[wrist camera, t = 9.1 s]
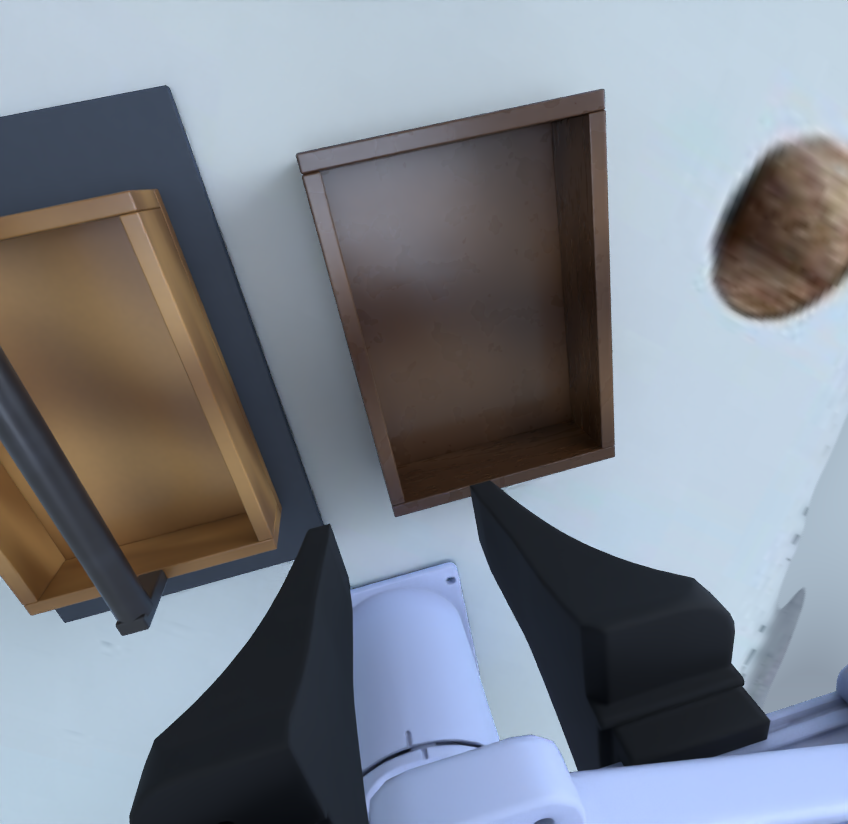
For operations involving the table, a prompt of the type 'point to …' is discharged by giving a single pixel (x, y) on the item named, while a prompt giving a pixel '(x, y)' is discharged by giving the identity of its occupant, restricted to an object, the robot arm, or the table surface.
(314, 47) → the table surface
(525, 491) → the table surface
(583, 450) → the dark brown wooden box
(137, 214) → the box
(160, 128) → the mat
